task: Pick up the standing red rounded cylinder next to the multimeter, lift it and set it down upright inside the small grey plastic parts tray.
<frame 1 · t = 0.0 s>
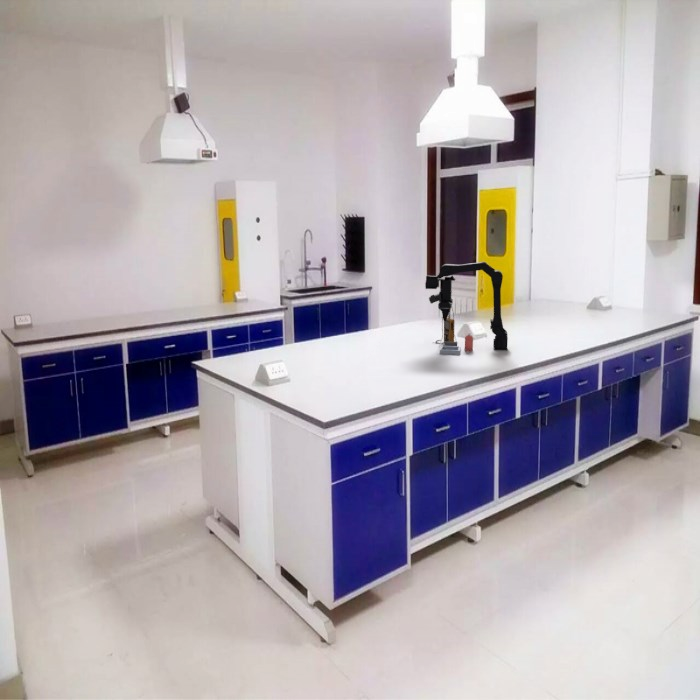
hand: (445, 319, 325), 15 cm above the countertop, fingers open, 9 cm apart
red rounded cylinder: (468, 350, 320), on the countertop
tray: (450, 352, 317), on the countertop
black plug: (451, 348, 326), on the countertop
multimeter: (442, 343, 337), on the countertop
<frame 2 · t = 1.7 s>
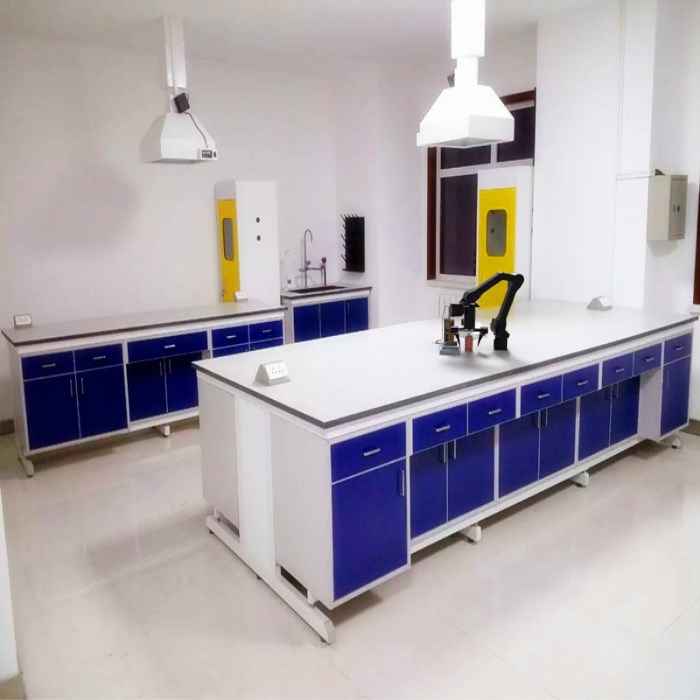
hand: (468, 346, 320), 2 cm above the countertop, fingers open, 9 cm apart
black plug: (451, 347, 326), on the countertop, tilted 42°
everything else where it was.
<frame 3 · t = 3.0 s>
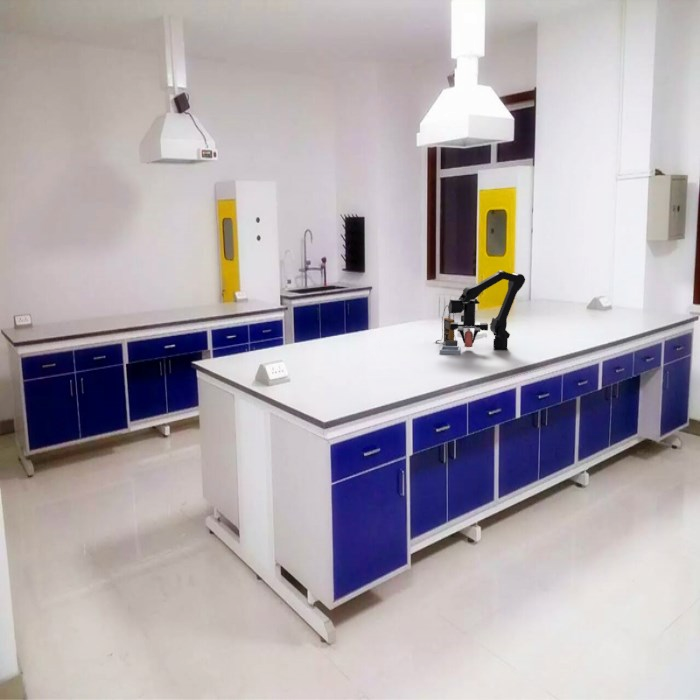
hand: (468, 343, 319), 4 cm above the countertop, fingers closed on red rounded cylinder, 4 cm apart
red rounded cylinder: (468, 346, 320), point 2 cm above the countertop, touching gripper
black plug: (451, 342, 327), point 2 cm above the countertop, tilted 116°
everything else where it was.
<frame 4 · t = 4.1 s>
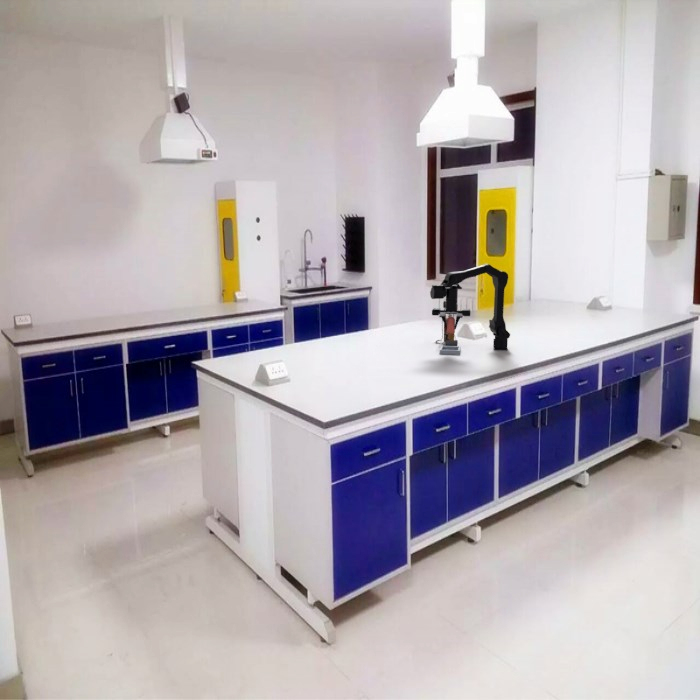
hand: (450, 329, 315), 12 cm above the countertop, fingers closed on red rounded cylinder, 4 cm apart
red rounded cylinder: (450, 332, 315), point 10 cm above the countertop, touching gripper
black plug: (451, 341, 328), point 3 cm above the countertop, tilted 140°
everything else where it was.
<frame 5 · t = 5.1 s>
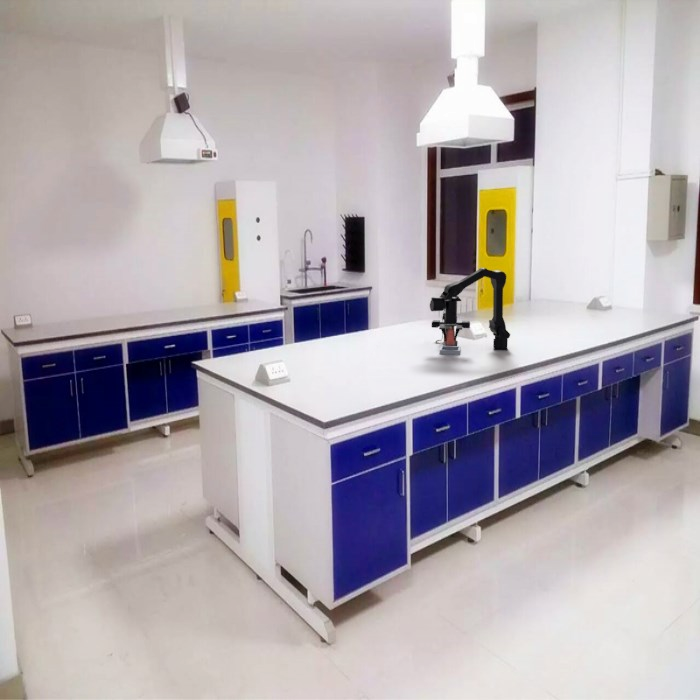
hand: (450, 341, 316), 6 cm above the countertop, fingers closed on red rounded cylinder, 4 cm apart
red rounded cylinder: (450, 344, 317), point 4 cm above the countertop, touching gripper
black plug: (451, 344, 327), point 2 cm above the countertop, tilted 98°
everything else where it was.
when the fingers open (3 cm above the countertop, at t = 5.8 s): red rounded cylinder drops 1 cm, resting on tray.
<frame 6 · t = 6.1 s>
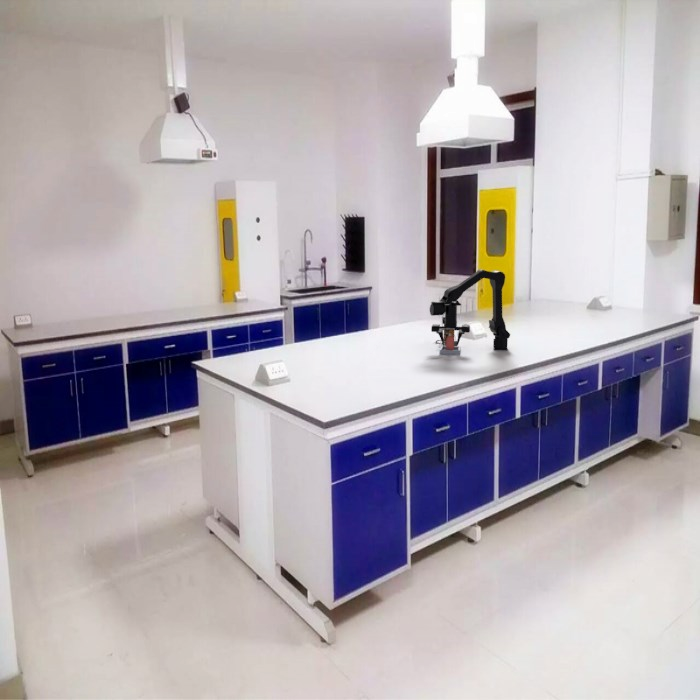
hand: (450, 345, 317), 3 cm above the countertop, fingers open, 7 cm apart
red rounded cylinder: (450, 351, 317), point 1 cm above the countertop, touching tray
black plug: (451, 346, 326), point 1 cm above the countertop, tilted 56°
everything else where it was.
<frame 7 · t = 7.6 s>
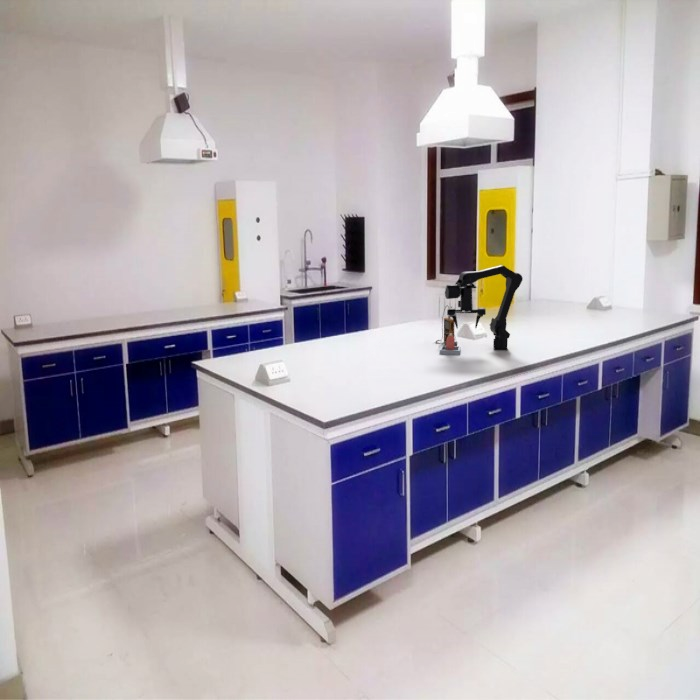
hand: (466, 328, 317), 12 cm above the countertop, fingers open, 9 cm apart
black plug: (451, 348, 326), on the countertop
everything else where it was.
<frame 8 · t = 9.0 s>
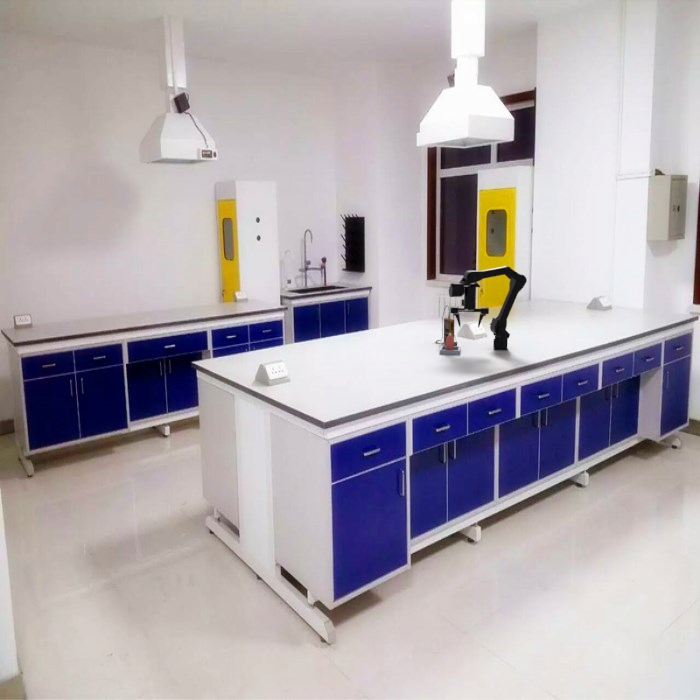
hand: (469, 327, 318), 12 cm above the countertop, fingers open, 9 cm apart
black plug: (451, 348, 326), on the countertop, tilted 20°
everything else where it was.
at the end: red rounded cylinder inside the target area on the tray (0.1 cm from its centre), point 0.6 cm above the tray's base; red rounded cylinder tilted 2°; the gripper is holding nothing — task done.
